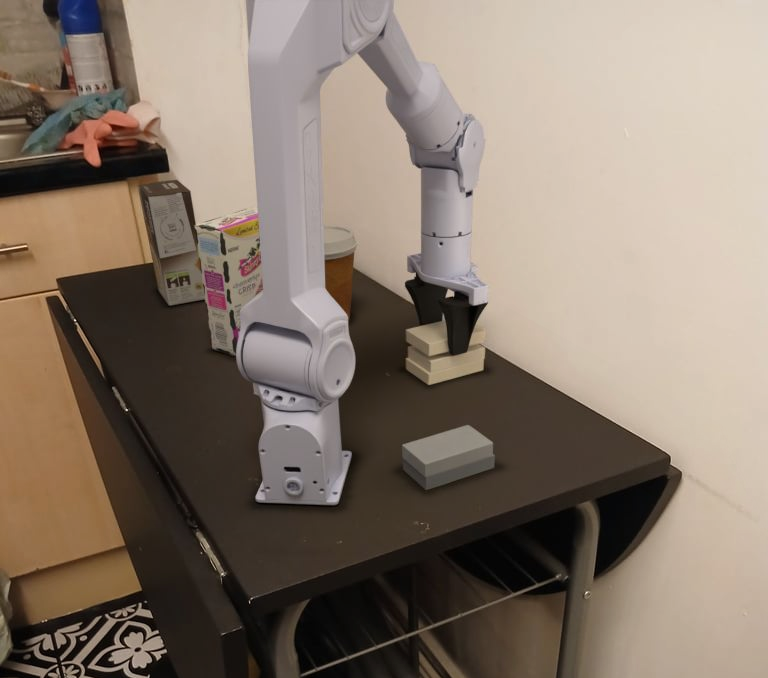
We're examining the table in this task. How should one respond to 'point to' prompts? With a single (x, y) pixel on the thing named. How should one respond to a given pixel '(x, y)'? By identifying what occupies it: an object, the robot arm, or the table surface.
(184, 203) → the coffee box
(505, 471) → the table surface
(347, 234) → the disposable coffee cup
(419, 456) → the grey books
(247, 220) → the candy bar box
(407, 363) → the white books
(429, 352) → the cream rectangular block
